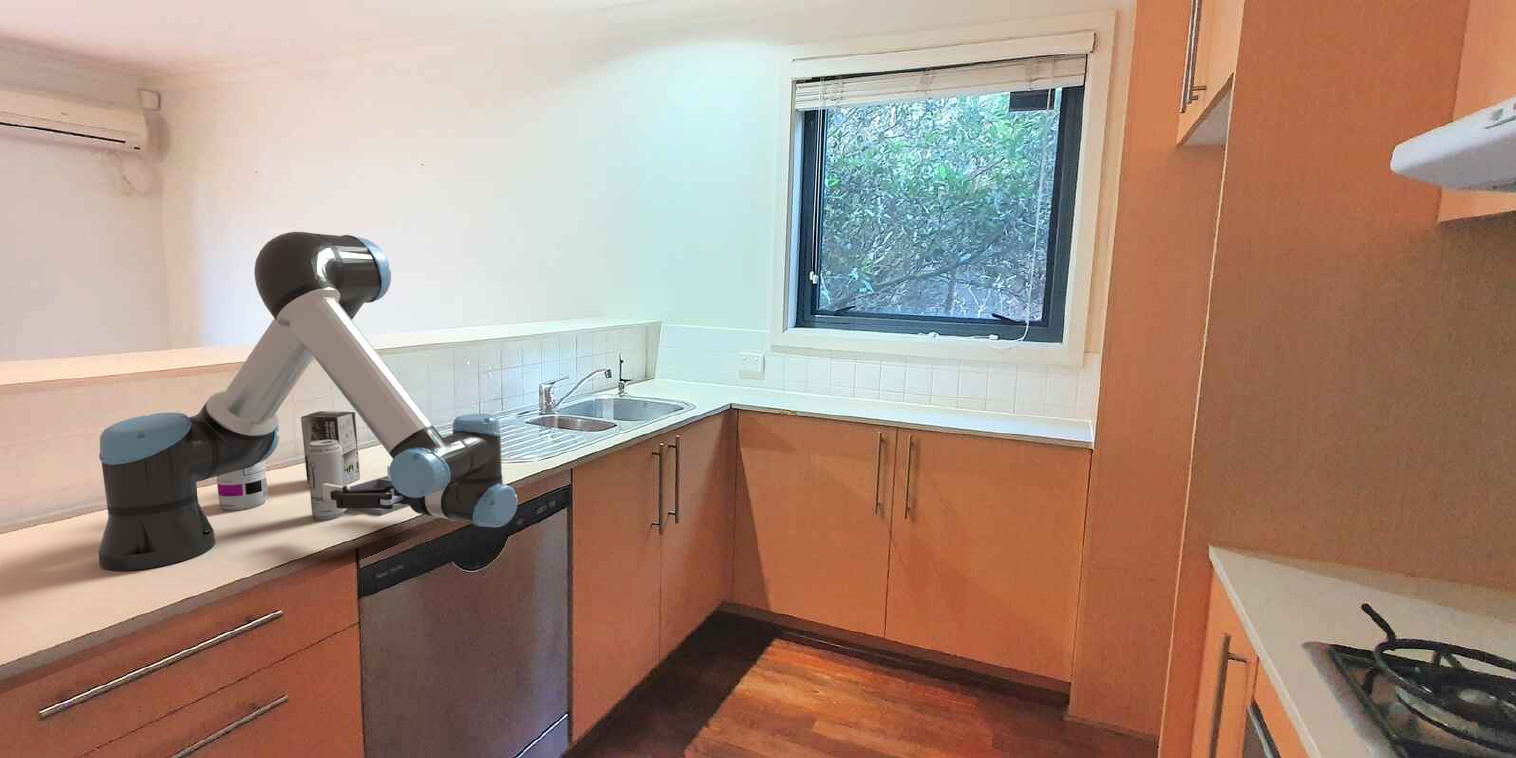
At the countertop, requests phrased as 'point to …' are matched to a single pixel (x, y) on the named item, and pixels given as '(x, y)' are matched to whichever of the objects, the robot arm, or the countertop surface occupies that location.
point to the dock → (377, 484)
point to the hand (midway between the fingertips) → (358, 481)
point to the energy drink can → (325, 476)
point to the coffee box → (333, 437)
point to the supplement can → (243, 488)
